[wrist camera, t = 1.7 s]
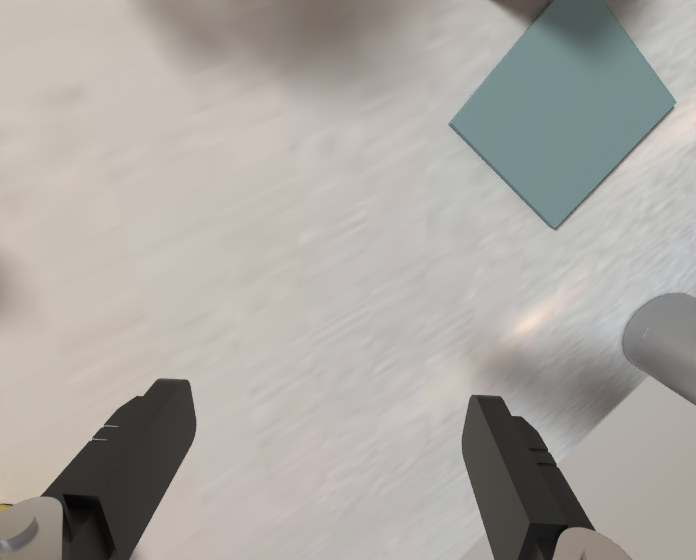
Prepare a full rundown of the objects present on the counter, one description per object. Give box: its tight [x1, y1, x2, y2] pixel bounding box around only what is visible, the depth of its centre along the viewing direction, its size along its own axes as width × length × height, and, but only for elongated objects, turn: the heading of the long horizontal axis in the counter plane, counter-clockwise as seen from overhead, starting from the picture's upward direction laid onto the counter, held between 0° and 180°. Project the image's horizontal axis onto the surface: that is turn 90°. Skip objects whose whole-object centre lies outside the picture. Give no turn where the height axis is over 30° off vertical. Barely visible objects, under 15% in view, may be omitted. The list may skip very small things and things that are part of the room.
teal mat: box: [449, 0, 677, 228], centre depth 31 cm, size 14×14×1 cm
